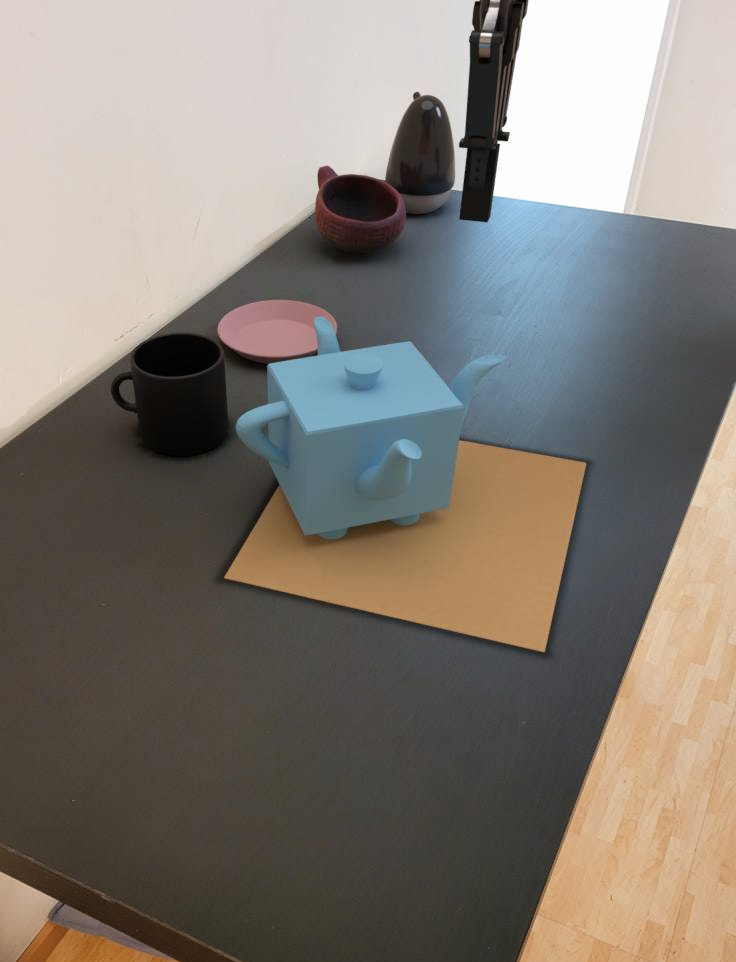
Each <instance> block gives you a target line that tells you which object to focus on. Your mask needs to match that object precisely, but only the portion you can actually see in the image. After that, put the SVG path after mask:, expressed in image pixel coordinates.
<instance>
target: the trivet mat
mask: <svg viewBox="0 0 736 962" xmlns="http://www.w3.org/2000/svg"><path fill="white" fill-rule="evenodd" d="M586 467H587V462H585V461H578V460H573V459H568V458H561V457H556V456H550V455H545V454H539V453H533V452H528V451H522V450H516V449H510V448H506V447H500V446H493V445H488V444H483V443H477V442H471V441H466V440H460V439H459V444H458V451H457V458H456V464H455V471H454V477H453V484H452V491H451V497H450V504H449V508H445V509H440V510H435V511H430V512H425V513H420V514H419V519H418V521H417V522H415V523H413V524H410V525H399V524H396V523H394V522H392V521H391V520H390V519H389V520H384V521H379V522H374V523H368V524H363V525H358V526H353V527H348V530H347V533H346V534H345V535H344V536H343V537H341V538H338V539H326V538H323V537H321V536H319V535H318V534H317V533H316V534H311V535H306V536H305V535H304V533H303V531H302V529H301V527H300V525H299V523H298V521H297V519H296V516H295V514H294V512H293V510H292V508H291V506H290V504H289V502H288V500H287V498H286V496H285V494H284V492H283V490H282V488H281V486H280V484H279V485H278V486H277V488H276V489H275V491H274V493H273V495H272V496H271V498H270V500H269V502H268V503H267V505H266V506H265V508H264V510H263V512H262V513H261V515H260V517H259V518H258V520H257V521H256V523H255V525H254V527H253V528H252V529H251V531H250V534H249V535H248V537H247V539H246V540H245V541H244V543H243V545H242V546H241V548H240V550H239V552H238V553H237V555H236V557H235V559H234V560H233V562H232V564H231V565H230V566H229V568H228V570H227V571H226V574H225V575H224V577H223V579H225V580H229V581H233V582H238V583H242V584H247V585H251V586H256V587H260V588H264V589H269V590H273V591H276V592H282V593H285V594H290V595H293V596H294V595H295V596H298V597H303V598H307V599H312V600H315V601H320V602H324V603H329V604H333V605H338V606H340V607H341V606H342V607H346V608H350V609H355V610H358V611H363V612H368V613H372V614H375V615H380V616H385V617H390V618H394V619H398V620H402V621H407V622H410V623H414V624H415V623H416V624H419V625H423V626H427V627H433V628H435V629H441V630H445V631H449V632H454V633H458V634H462V635H467V636H470V637H471V636H472V637H476V638H478V639H479V638H480V639H484V640H488V641H492V642H496V643H501V644H506V645H510V646H514V647H518V648H522V649H527V650H532V651H535V652H541V653H544V654H545V652H546V648H547V644H548V640H549V636H550V631H551V625H552V620H553V616H554V612H555V607H556V603H557V600H558V599H557V598H558V594H559V590H560V585H561V581H562V576H563V572H564V567H565V562H566V558H567V553H568V548H569V545H570V539H571V535H572V532H573V527H574V521H575V517H576V513H577V508H578V504H579V499H580V495H581V490H582V485H583V481H584V476H585V472H586Z"/></svg>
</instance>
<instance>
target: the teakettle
mask: <svg viewBox="0 0 736 962" xmlns="http://www.w3.org/2000/svg"><path fill="white" fill-rule="evenodd" d="M314 327H315V331H316V335H317V343H318V352H317V355H312V356H310V357H306V358H300V359H294V360H288V361H282V362H276V363H271V364H266V365H267V366H266V372H267V373H266V374H267V376H266V377H267V379H266V380H267V404H264V405H260V406H257V407H255V408H253V409H250V410H248V411H246V412H245V413H243V414H242V415H241V416H239V418H238V419H237V421H236V423H235V431H236V435H237V436H238V438H239V439H240V441H241V442H242V443H243V444H244V445H245V446H246V447H247V448H248V449H249V450H251V451H252V452H253V453H255V454H256V455H258V456H260V457H262V458H263V459H265V460H268V464H269V466H270V469H271V470H272V472H273V475H274V476H275V479H276V480H277V482H278V484H279V485H280V486H281V488H282V490H283V492H284V494H285V496H286V498H287V500H288V502H289V504H290V506H291V508H292V510H293V512H294V514H295V516H296V519H297V521H298V523H299V525H300V527H301V529H302V531H303V533H304V535H305V536H306V535H311V534H316V533H317V534H318V535H319V536H321V537H323V538H326V539H338V538H341V537H343V536H344V535H345V534H346V533H347V530H348V527H353V526H358V525H363V524H368V523H374V522H379V521H384V520H389V519H390V520H391V521H392V522H394V523H396V524H399V525H410V524H413V523H415V522H417V521H418V519H419V514H420V513H425V512H430V511H435V510H440V509H445V508H449V504H450V497H451V491H452V484H453V477H454V471H455V464H456V458H457V451H458V444H459V440H460V436H461V431H462V426H463V423H464V421H465V418H466V416H467V413H468V410H469V407H470V404H471V402H472V399H473V396H474V393H475V392H476V389H477V387H478V385H479V384H480V383H481V381H482V380H483V378H484V377H485V376H486V375H487V374H488V373H489V372H490V371H492V370H493V369H494V368H496V367H497V366H499V365H500V364H502V363H503V362H504V361H506V359H507V357H506V355H503V354H488V355H482V356H480V357H478V358H475V359H473V360H471V361H470V362H468V364H467V365H465V366H464V367H463V369H462V370H461V371H460V372H459V373H458V375H457V376H456V378H455V379H454V381H453V383H452V384H451V386H450V387H449V386H448V385H447V384H446V382H445V381H444V380H443V379H442V377H441V376H440V375H439V374H438V372H437V371H436V370H435V369H434V368H433V366H432V365H431V364H430V363H429V361H428V360H427V359H426V358H425V357H424V355H422V353H421V352H420V351H419V350H418V349H417V348H416V346H415V345H414V344H413V342H412V341H410V340H409V341H402V342H394V343H389V344H388V343H387V344H383V345H382V344H381V345H376V346H369V347H363V348H356V349H349V350H343V351H341V348H340V345H339V341H338V338H337V333H336V334H335V331H334V328H333V326H332V324H331V323H330V322H329V321H328V320H327V319H326V318H324V317H316V318H315V319H314ZM266 425H267V426H268V427H267V428H268V429H267V431H268V432H267V433H268V437H267V435H266V434H265V433H264V432H263V428H264V426H266Z"/></svg>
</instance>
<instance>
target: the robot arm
mask: <svg viewBox="0 0 736 962" xmlns="http://www.w3.org/2000/svg"><path fill="white" fill-rule="evenodd" d="M528 6H529V0H475V1H474V4H473V9H472V17H471V18H472V19H471V25H472V27H473V30H471V32H470V35H469V38H468V43H469V66H468V67H469V69H468V82H467V84H468V85H467V96H466V97H467V98H466V99H467V100H466V111H465V112H466V114H465V127H464V136H463V137H461V138H460V140H459V142H458V148H459V149H466V156H465V165H464V173H463V174H464V175H463V183H462V191H461V201H460V210H459V217H458V218H459V220H460V221H470V222H479V223H489V221H490V218H491V213H492V207H493V200H494V192H495V185H496V177H497V169H498V162H499V155H500V147H501V143H499V142H509V139H510V134H511V132H510V131H504V130H503V128H504V127H505V126H506V124H507V121H508V116H507V113H508V108H509V102H510V96H511V90H512V85H513V79H514V72H515V66H516V59H517V55H518V51H519V48H520V44H521V43H520V42H521V35H522V28H523V22H524V19H525V18H526V16H527V14H528Z"/></svg>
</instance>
